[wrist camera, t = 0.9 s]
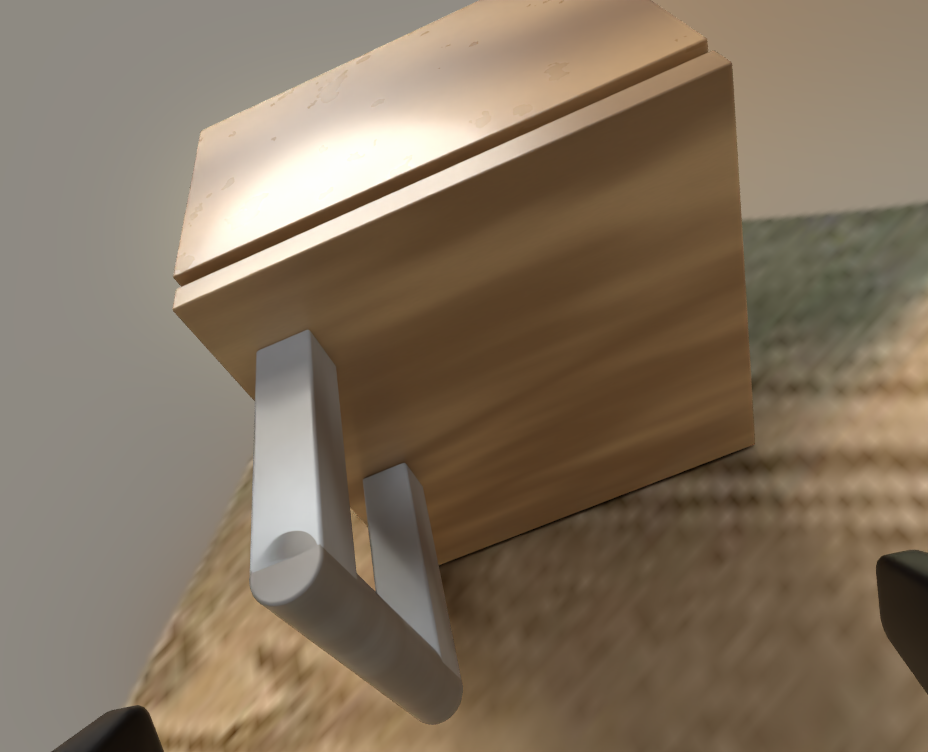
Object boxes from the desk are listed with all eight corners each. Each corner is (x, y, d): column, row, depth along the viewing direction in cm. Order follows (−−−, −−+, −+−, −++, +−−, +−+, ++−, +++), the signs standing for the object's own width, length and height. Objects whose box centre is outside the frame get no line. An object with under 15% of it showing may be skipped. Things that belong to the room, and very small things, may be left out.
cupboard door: (885, 633, 18) (992, 242, 8) (446, 786, 19) (119, 590, 10) (743, 427, 23) (714, 48, 14) (408, 556, 24) (175, 288, 15)
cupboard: (740, 424, 23) (708, 37, 14) (409, 552, 25) (171, 277, 15) (648, 290, 29) (581, -49, 20) (383, 399, 30) (200, 130, 21)
